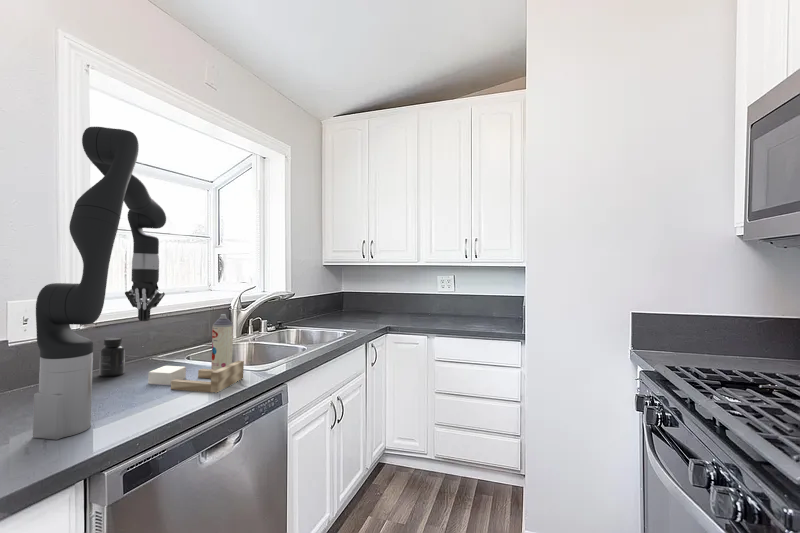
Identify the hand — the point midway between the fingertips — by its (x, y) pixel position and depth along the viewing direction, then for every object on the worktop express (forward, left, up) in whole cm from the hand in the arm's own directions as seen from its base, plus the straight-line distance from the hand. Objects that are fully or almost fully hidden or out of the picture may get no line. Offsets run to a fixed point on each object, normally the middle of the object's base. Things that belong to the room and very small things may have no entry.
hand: (144, 320), depth 131 cm
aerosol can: (+16, -18, -19) cm, 31 cm away
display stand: (0, -24, -19) cm, 31 cm away
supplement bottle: (+2, +13, -19) cm, 23 cm away
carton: (0, -9, -19) cm, 21 cm away
